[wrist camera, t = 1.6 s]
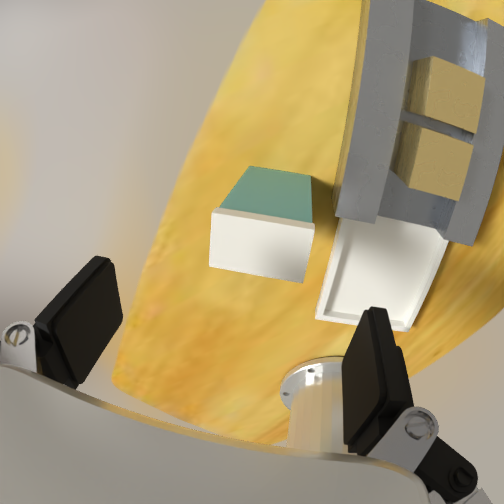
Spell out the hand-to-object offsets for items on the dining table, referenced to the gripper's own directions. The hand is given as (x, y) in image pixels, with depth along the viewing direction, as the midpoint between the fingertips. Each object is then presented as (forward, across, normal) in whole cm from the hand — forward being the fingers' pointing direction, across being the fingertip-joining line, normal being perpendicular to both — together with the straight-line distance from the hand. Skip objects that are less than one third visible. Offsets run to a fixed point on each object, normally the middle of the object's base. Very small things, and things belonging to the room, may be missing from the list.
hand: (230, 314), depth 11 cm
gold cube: (+15, -11, -10) cm, 21 cm away
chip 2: (+15, -11, -5) cm, 19 cm away
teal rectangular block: (+17, 0, +1) cm, 17 cm away
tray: (+16, -11, +7) cm, 21 cm away
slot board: (+17, -11, -8) cm, 22 cm away
